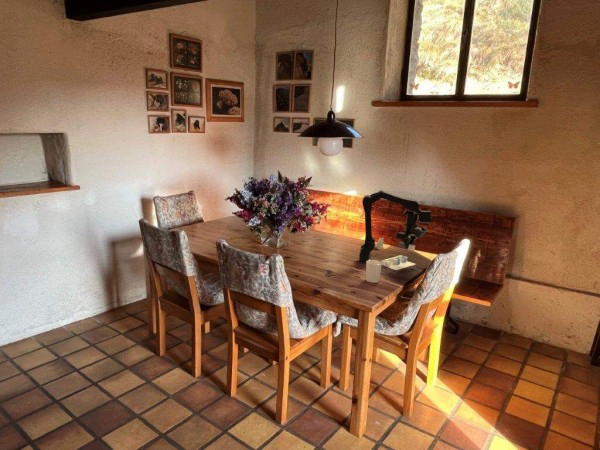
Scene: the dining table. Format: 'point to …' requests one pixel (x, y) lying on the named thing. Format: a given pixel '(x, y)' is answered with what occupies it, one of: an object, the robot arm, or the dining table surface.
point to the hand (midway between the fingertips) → (408, 248)
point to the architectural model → (380, 243)
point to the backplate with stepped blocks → (397, 262)
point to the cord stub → (411, 247)
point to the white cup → (373, 270)
